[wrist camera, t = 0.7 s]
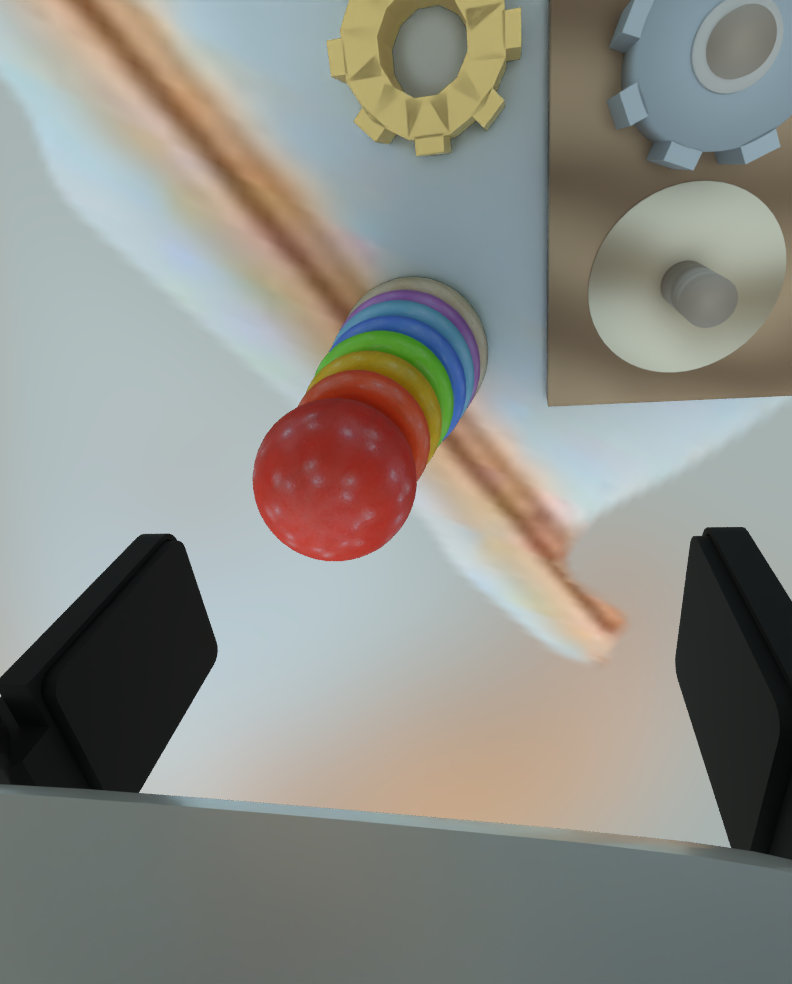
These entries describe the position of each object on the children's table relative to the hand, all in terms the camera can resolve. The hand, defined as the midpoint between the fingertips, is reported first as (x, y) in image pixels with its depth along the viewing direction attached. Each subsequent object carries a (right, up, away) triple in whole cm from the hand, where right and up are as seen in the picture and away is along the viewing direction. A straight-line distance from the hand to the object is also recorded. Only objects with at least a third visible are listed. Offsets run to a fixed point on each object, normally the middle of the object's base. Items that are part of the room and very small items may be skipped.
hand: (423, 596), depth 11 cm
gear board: (+13, +16, +16) cm, 26 cm away
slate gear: (+12, +19, +13) cm, 26 cm away
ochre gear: (+1, +21, +16) cm, 26 cm away
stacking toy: (+1, +10, +22) cm, 24 cm away
